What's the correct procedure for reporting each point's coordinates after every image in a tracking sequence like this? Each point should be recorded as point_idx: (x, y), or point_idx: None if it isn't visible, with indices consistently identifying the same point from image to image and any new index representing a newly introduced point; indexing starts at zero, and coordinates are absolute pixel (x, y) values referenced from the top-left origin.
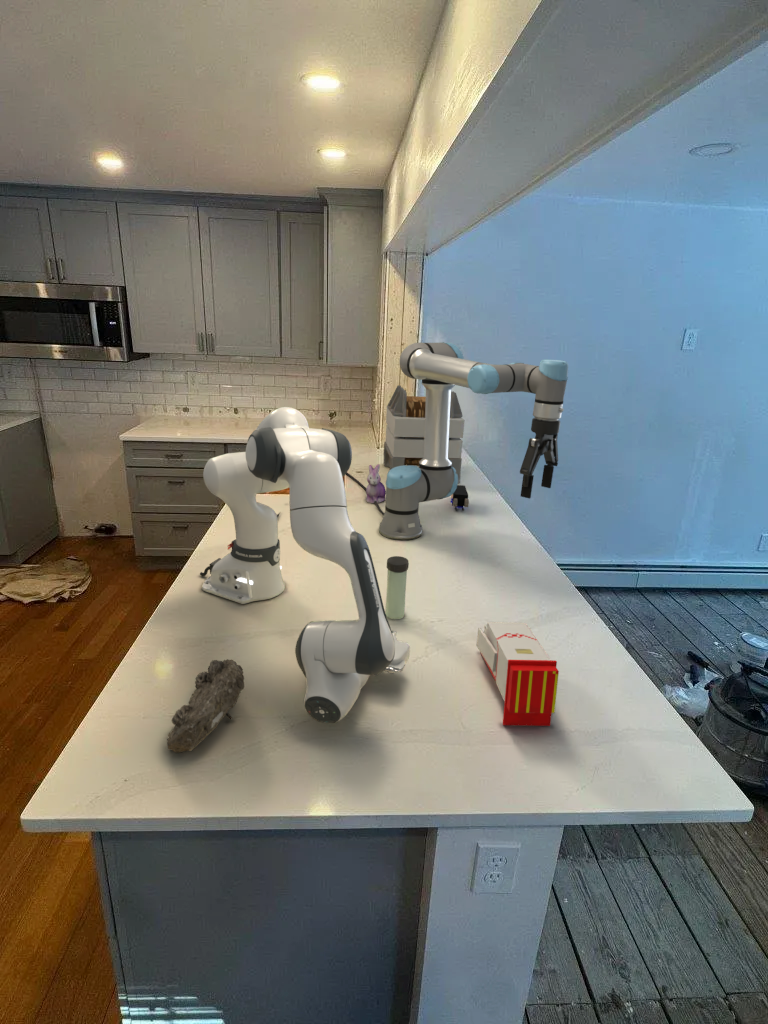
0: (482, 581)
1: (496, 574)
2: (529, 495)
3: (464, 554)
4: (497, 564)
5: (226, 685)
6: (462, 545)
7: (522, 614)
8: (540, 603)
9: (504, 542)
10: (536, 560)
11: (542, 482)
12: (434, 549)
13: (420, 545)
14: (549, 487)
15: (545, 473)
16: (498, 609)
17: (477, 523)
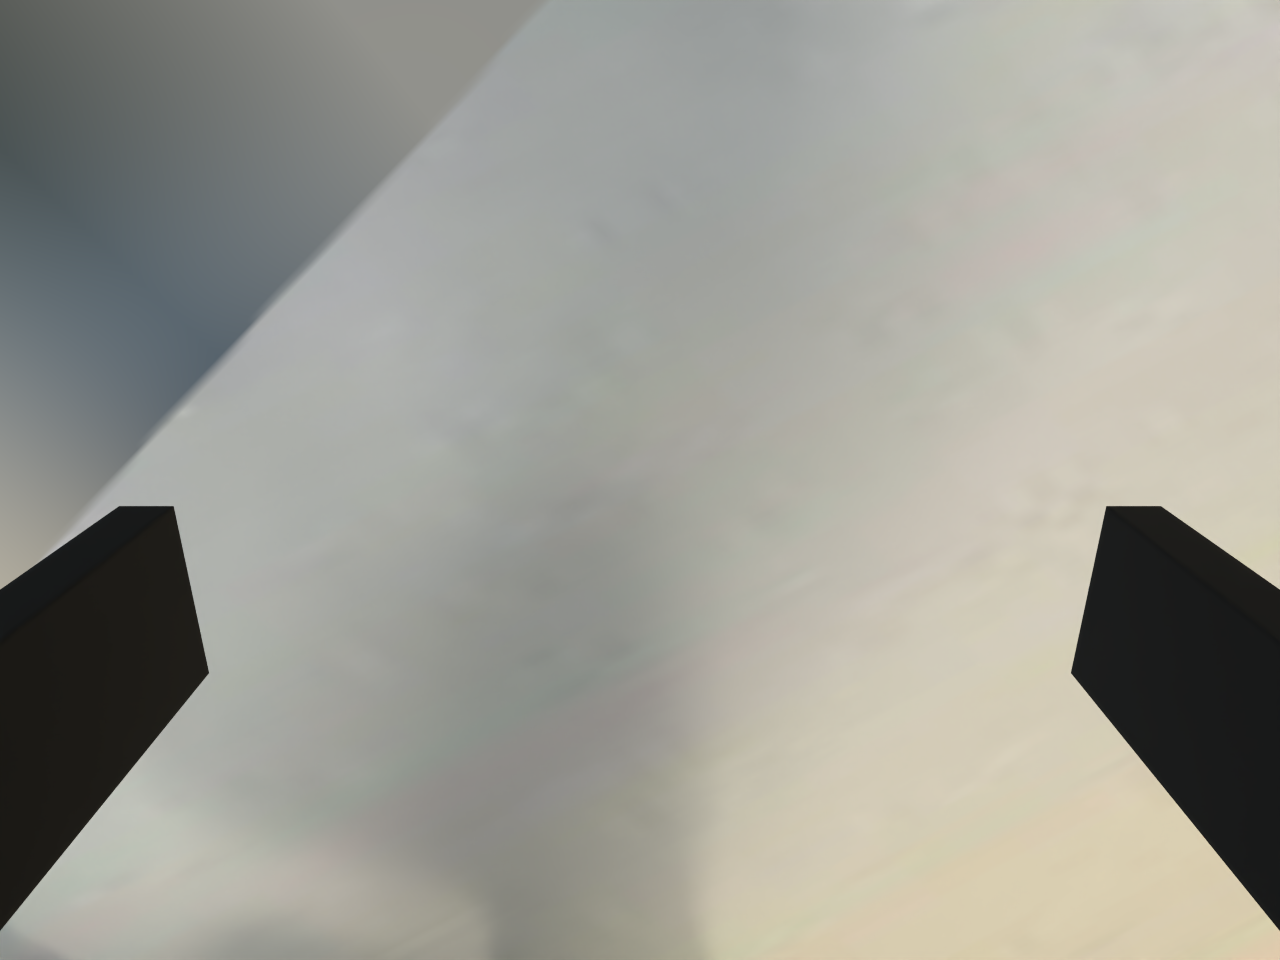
0: (892, 455)
1: (738, 439)
2: (1194, 540)
3: (612, 709)
4: (594, 504)
5: None
6: (502, 777)
7: (1188, 31)
8: (959, 3)
9: (240, 631)
10: (324, 342)
11: (161, 708)
12: (678, 848)
13: (686, 918)
14: (164, 519)
15: (8, 839)
16: (1204, 193)
17: (122, 876)
